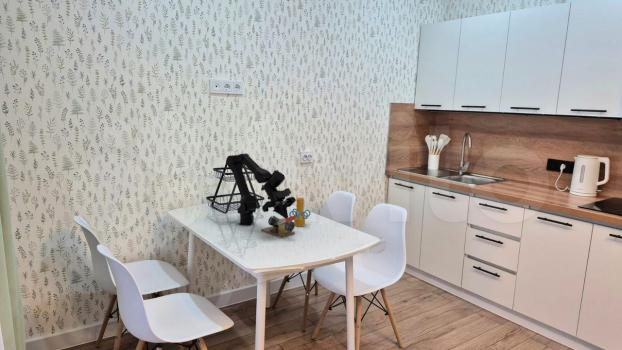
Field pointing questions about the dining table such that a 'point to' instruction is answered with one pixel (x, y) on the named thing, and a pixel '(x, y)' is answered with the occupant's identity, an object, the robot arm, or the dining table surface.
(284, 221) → the lever
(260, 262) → the dining table surface
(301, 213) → the orange post with rings
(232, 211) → the dining table surface
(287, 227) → the valve
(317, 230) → the dining table surface
